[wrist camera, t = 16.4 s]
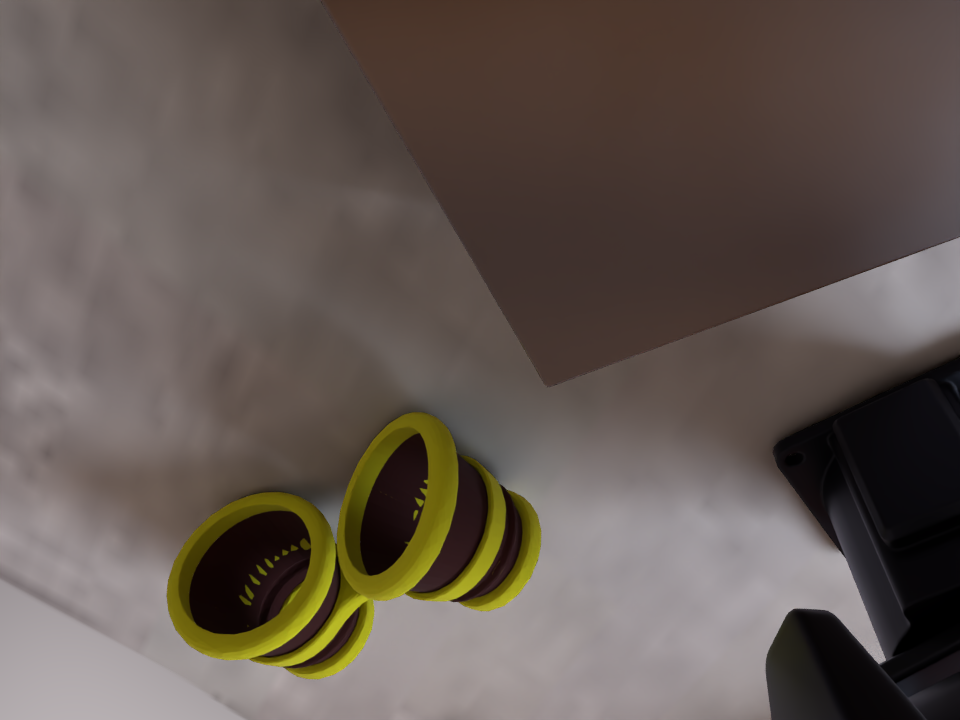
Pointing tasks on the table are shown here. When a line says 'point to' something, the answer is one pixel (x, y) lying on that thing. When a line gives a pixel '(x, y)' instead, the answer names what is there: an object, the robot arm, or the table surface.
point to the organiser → (669, 151)
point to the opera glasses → (352, 555)
